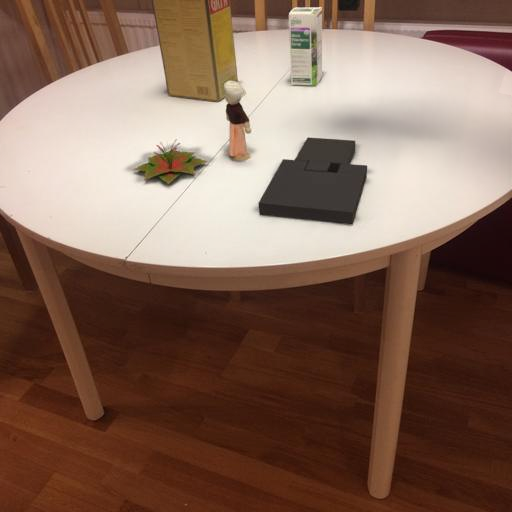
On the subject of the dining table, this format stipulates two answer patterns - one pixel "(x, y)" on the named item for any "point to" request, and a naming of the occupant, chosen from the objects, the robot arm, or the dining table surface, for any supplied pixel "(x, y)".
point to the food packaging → (196, 47)
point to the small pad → (326, 154)
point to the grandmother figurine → (236, 121)
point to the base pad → (314, 193)
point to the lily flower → (170, 164)
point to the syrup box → (305, 45)
